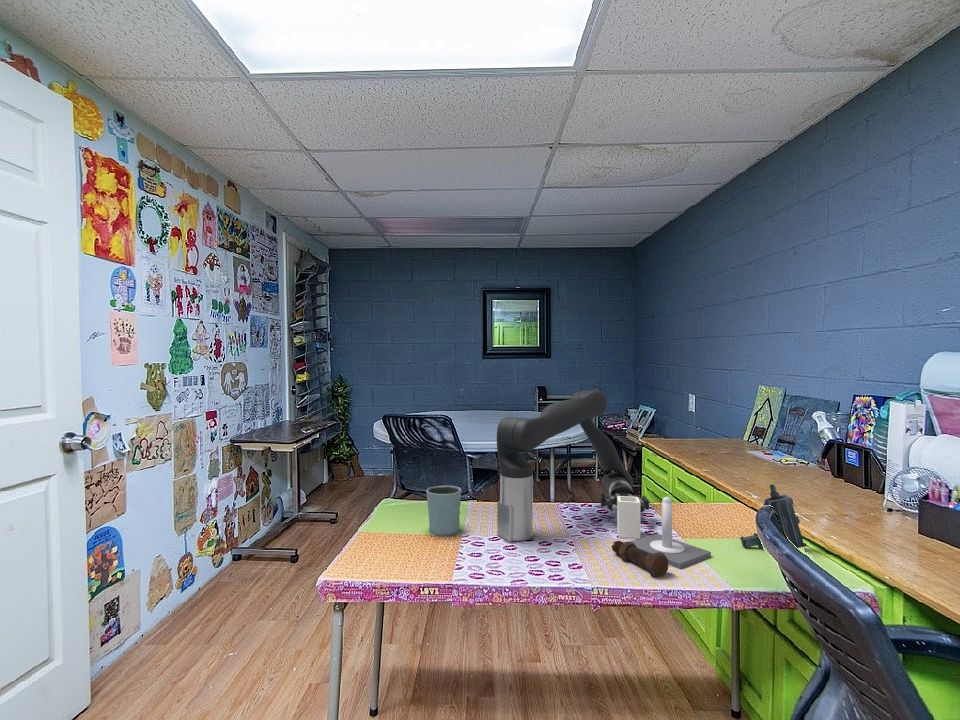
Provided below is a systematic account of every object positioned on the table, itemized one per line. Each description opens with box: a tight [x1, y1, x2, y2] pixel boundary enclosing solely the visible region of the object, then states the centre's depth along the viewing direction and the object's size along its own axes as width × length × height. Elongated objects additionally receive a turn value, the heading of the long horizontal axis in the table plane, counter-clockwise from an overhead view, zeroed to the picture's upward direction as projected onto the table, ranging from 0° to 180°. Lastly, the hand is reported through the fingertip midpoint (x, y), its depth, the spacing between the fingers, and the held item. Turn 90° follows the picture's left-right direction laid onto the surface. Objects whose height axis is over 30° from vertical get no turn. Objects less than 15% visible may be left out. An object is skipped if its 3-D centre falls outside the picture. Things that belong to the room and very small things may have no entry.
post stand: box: [631, 496, 712, 570], centre depth 127 cm, size 13×16×14 cm
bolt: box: [611, 540, 670, 578], centre depth 119 cm, size 6×5×15 cm
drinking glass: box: [425, 485, 462, 537], centre depth 143 cm, size 10×10×12 cm
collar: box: [616, 496, 641, 540], centre depth 140 cm, size 6×6×10 cm
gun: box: [739, 483, 808, 549], centre depth 129 cm, size 3×17×15 cm
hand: (626, 508), depth 144 cm, fingers open, 8 cm apart
